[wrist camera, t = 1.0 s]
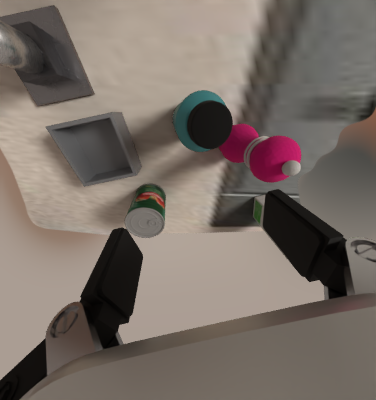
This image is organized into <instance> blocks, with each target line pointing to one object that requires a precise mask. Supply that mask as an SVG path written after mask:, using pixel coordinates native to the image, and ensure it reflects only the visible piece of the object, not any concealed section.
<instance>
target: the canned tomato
mask: <svg viewBox="0 0 376 400" xmlns="http://www.w3.org/2000/svg"><path fill="white" fill-rule="evenodd" d="M165 202H166V195H165V192H164V190H163V189H162V188H161V187H159V186H158V185H155V184H144V185H142V186H140V187H139V188H138V189H137V191H136V194H135V196H134V199H133V201H132V203H131V206H130V209H129V211H128V213H127V216H126V218H125V226H126V228H127V230H128V231H129V232H130V233H132V234H133V235H135V236H138V237H142V238H150V237H154V236H156V235H158V234H160V233H161V232H162V231H163V229H164V226H165V204H166V203H165Z"/></svg>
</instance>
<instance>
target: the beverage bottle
mask: <svg viewBox="0 0 376 400" xmlns="http://www.w3.org/2000/svg"><path fill="white" fill-rule="evenodd" d="M172 115H173V122H172V123H173V124H174V127H175V130H176V132H177V135H178V138H179V139H180V141H181V142H182V144H183V145H184V146H186V147H187V148H188V149H190V150H193V151H197V152H204V151H208V150H211V149H214V148H217V147H219V146H221V145H222V144H223V143H225V141H226V140H227V139H228V137H229V136H230V133H231V131H232V125H233V121H232V116H231V113H230V111H229V109H228V108H227V107H226V105H225V103H224V102H223V100H222V99H221V98H220V97H219V96H218V95H217V94H215V93H213V92H210V91H204V90H202V91H197V92H194V93H192V94H190V95H189V96H188V97H186V98H185V99H183V102H181V103H180V104H179V105H178V106H177V107H176V109H175V110H174V114H172Z"/></svg>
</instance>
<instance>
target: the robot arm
mask: <svg viewBox="0 0 376 400" xmlns="http://www.w3.org/2000/svg"><path fill="white" fill-rule="evenodd" d="M263 228H264V230H265V231H266V232H267V234H268V235H269V236H270V237H271V239H272V240H273V241H274V242H275V244H276V245H277V246H278V247H279V249H280V250H281V251H282V252H283V254H284V255H285V256H286V258H287V259H288V260H289V261H290V262H291V264H292V265H293V266H294V268H295V269H296V270H297V271H298V273H299V274H300V275H301V276H303V277H305V278H306V279H307V280H308V281H309V282H311V281H316V280H320V281H321V283H322V284H323V285H324V295H325V300H323V301H318V302H313V303H308V304H304V305H299V306H294V307H289V308H285V309H280V310H276V311H271V312H266V313H261V314H257V315H252V316H248V317H243V318H239V319H234V320H229V321H225V322H220V323H216V324H211V325H207V326H203V327H198V328H193V329H189V330H185V331H180V332H175V333H171V334H167V335H162V336H158V337H153V338H149V339H145V340H140V341H135V342H131V343H128V344H123V342H122V340H121V337H120V335H119V333H118V328H119V325H120V324H125V323H128V322H129V318H130V316H131V315H132V313H133V309H134V303H135V298H136V292H137V287H138V282H139V276H140V271H141V266H142V260H143V254H142V253H141V251H140V250H139V248H138V246H137V245H136V243H135V241H134V240H133V238H132V237H131V235H130V234H129V232H128V230H127V229H124V228H118V229H114V230H112V232H111V234H110V236H109V239H108V240H107V243H106V245H105V247H104V249H103V251H102V253H101V255H100V257H99V259H98V261H97V263H96V265H95V267H94V269H93V271H92V273H91V275H90V278H89V280H88V282H87V284H86V286H85V288H84V290H83V292H82V294H81V296H80V297H81V300H80V302H73V303H71V304H68V305H67V306H65V307H64V308H63V309H62V310H61V311H60V312H59V313H58V314H57V315H56V316H55V317H54V318H53V320H52V321H51V323H50V325H49V327H48V329H47V331H46V338H45V339H44V340H43V341H42V342H41V343H40V344H39V345H38V346H37V347H36V348H35V349H34V350H32V351H31V352H30V353H29V354H28V355H27V356H26V357H25V358H24V359H23V360H22V361H21V362H19V363H18V364H17V365H16V366H15V367H14V368H13V369H12V370H11V371H10V372H9V373H8V374H7V375H5V376H4V377H3V378H2V379H1V380H0V400H376V241H375V240H371V239H368V238H361V237H353V238H350V239H348V240H346V239H345V238H343V235H342V234H341V233H339V232H338V231H336V230H335V229H334V228H332V227H331V226H329V225H328V224H327V223H325V222H324V221H322V220H321V219H320V218H318V217H317V216H316V215H314V214H313V213H311V212H310V211H308V210H307V209H306V208H304V207H303V206H301V205H300V204H299V203H297V202H296V201H295V200H293V199H292V198H290V197H289V196H288V195H286V194H285V193H283V192H282V191H281V190H279V189H277V190H273V191H269V192H268V193H267V194H266V195H265V203H264V214H263Z"/></svg>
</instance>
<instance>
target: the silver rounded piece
mask: <svg viewBox="0 0 376 400" xmlns="http://www.w3.org/2000/svg"><path fill="white" fill-rule="evenodd" d="M0 65H3V66H6V67H10V68H13V69H15V71H16V72H17V74H18V76H19V77H20V79H21V80H22V82H26V83H31V84H35V85H40V86H41V85H46V84H51V83H55V82H60V81H64V80H69V79H71V78H70V76H69V74H68V72H67V70H66V68H65V66H64V63H63V61H62V59H61V57H60V55H59V53H58V51H57V49H56V47H55V45H54V43H53V41H52V39H51V37H50V34H48V33H47V32H45V31H44V30H42V29H41V28H39V27H38V26H36V25H35V24H33V23H31V22H30V21H28V22H23V23H19V24H14V25H10V26H9V25H7V24H6V23H4V22H2V21H0ZM44 65H45V67H44Z"/></svg>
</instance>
